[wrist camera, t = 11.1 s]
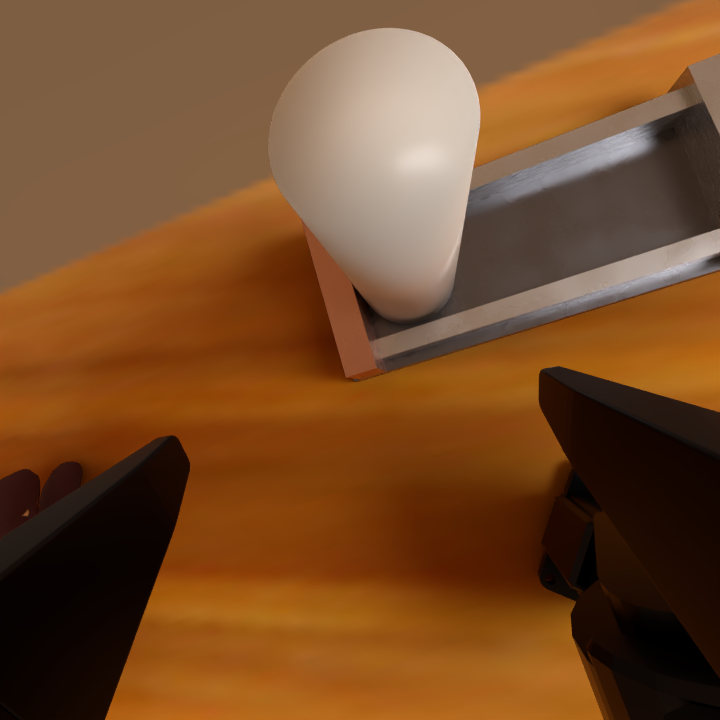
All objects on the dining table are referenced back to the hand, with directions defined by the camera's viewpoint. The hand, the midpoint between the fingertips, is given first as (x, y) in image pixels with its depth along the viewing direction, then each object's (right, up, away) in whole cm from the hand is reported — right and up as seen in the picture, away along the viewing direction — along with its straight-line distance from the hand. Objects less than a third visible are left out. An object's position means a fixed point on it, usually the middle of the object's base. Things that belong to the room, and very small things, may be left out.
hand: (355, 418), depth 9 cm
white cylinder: (+3, +6, +11) cm, 13 cm away
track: (+9, +8, +11) cm, 16 cm away
